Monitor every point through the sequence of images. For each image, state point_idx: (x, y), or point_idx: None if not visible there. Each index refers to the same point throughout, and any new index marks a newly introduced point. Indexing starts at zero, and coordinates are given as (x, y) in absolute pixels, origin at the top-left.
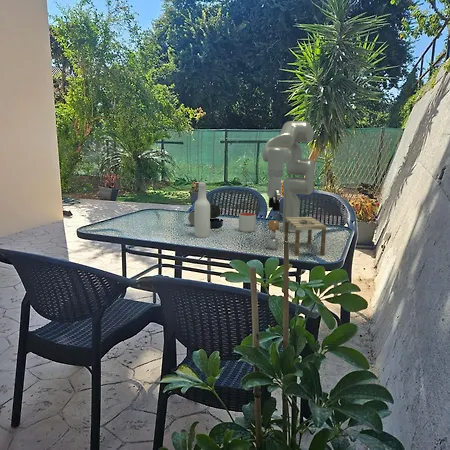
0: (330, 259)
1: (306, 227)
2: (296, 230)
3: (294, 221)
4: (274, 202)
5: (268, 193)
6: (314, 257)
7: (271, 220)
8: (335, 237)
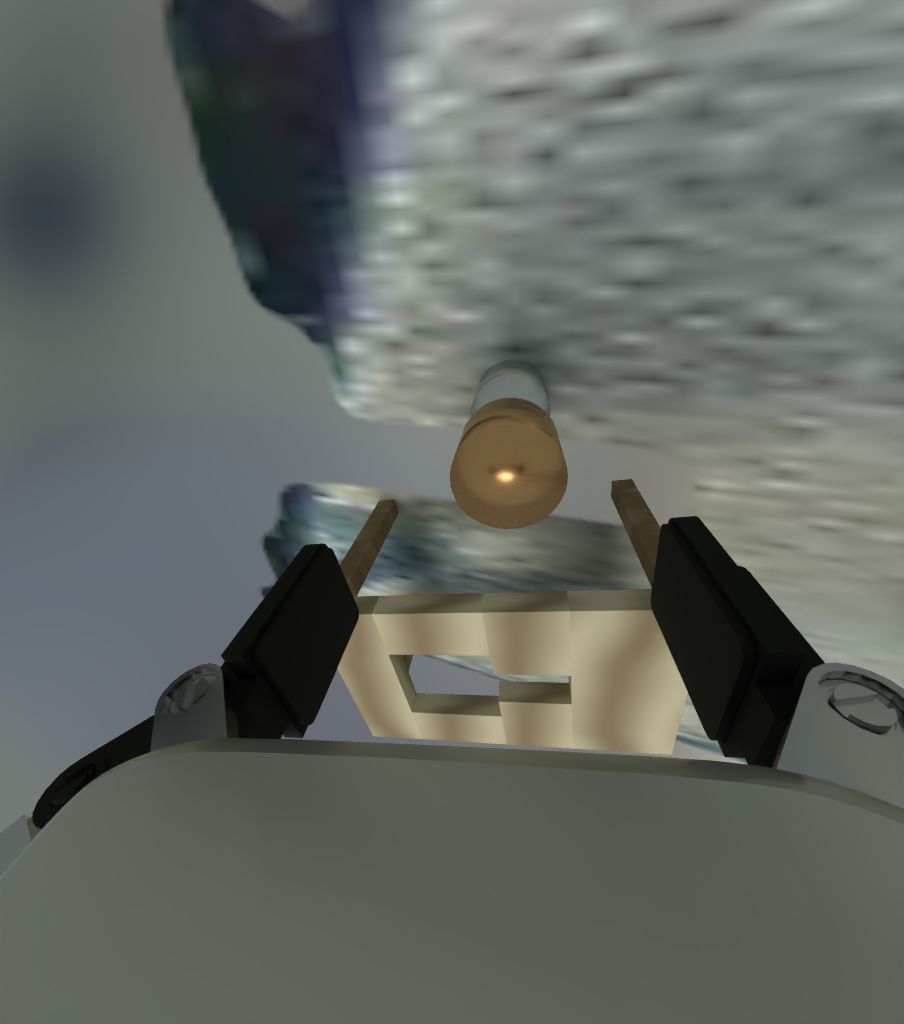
0: None
1: None
2: None
3: (500, 637)
4: (188, 675)
5: (488, 976)
6: (373, 568)
7: (550, 460)
8: None
